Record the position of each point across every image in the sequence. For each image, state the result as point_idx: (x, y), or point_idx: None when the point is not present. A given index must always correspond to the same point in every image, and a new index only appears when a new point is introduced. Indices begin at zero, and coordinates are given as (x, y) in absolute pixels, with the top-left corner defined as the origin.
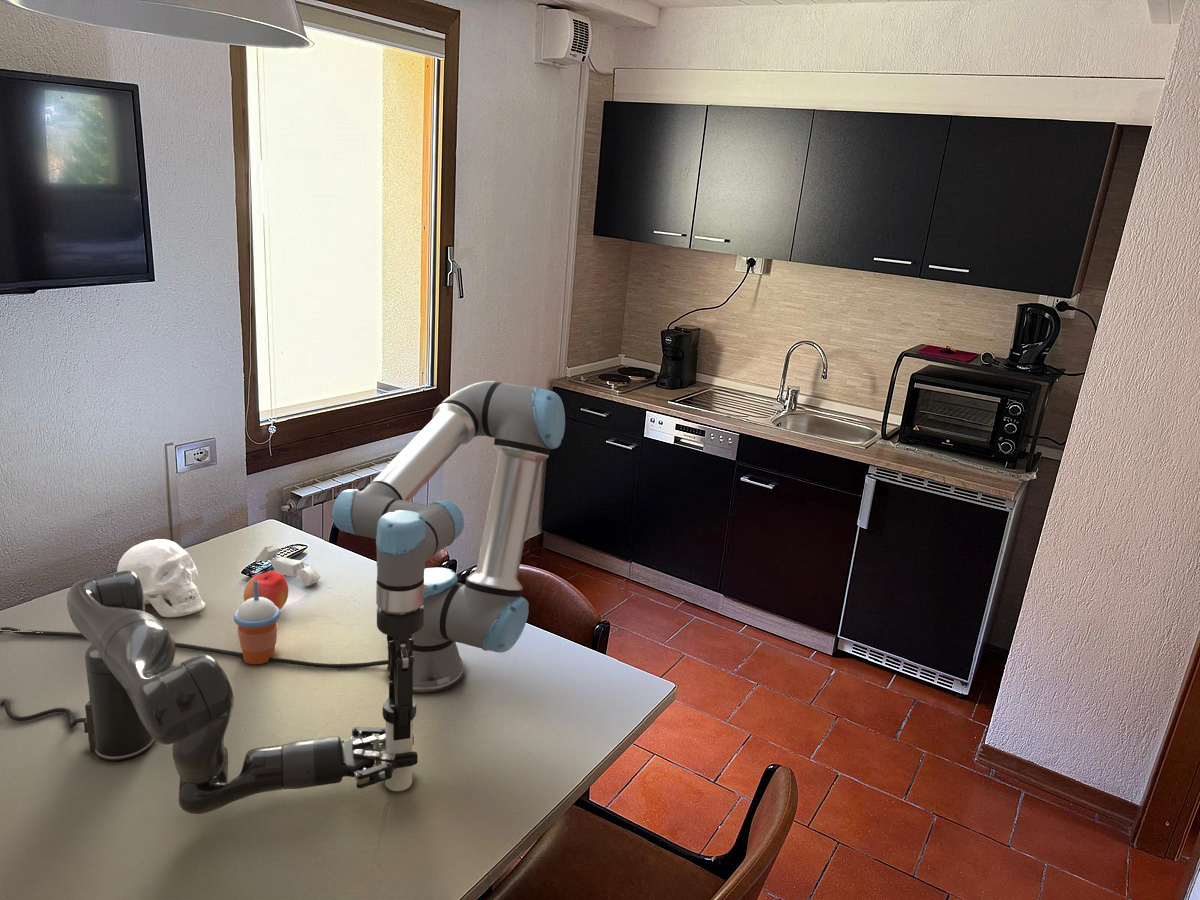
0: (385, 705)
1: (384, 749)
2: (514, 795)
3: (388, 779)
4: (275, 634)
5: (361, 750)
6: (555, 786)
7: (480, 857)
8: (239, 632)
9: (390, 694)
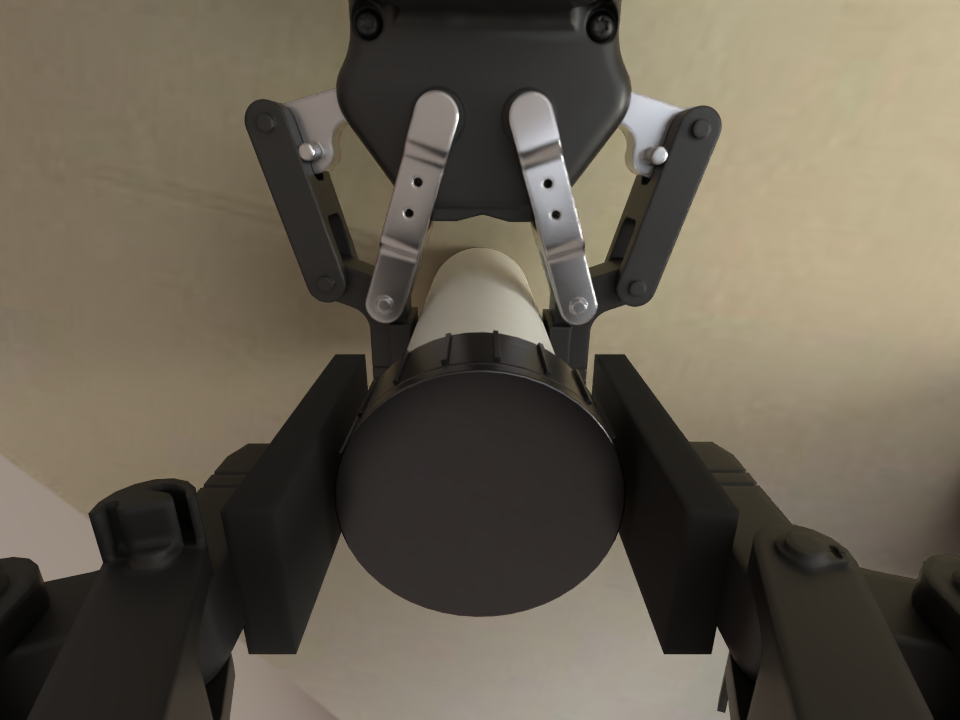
0: (483, 390)
1: (545, 273)
2: (341, 610)
3: (449, 263)
4: None
5: (440, 144)
6: (360, 703)
7: (90, 483)
8: None
9: (646, 453)
